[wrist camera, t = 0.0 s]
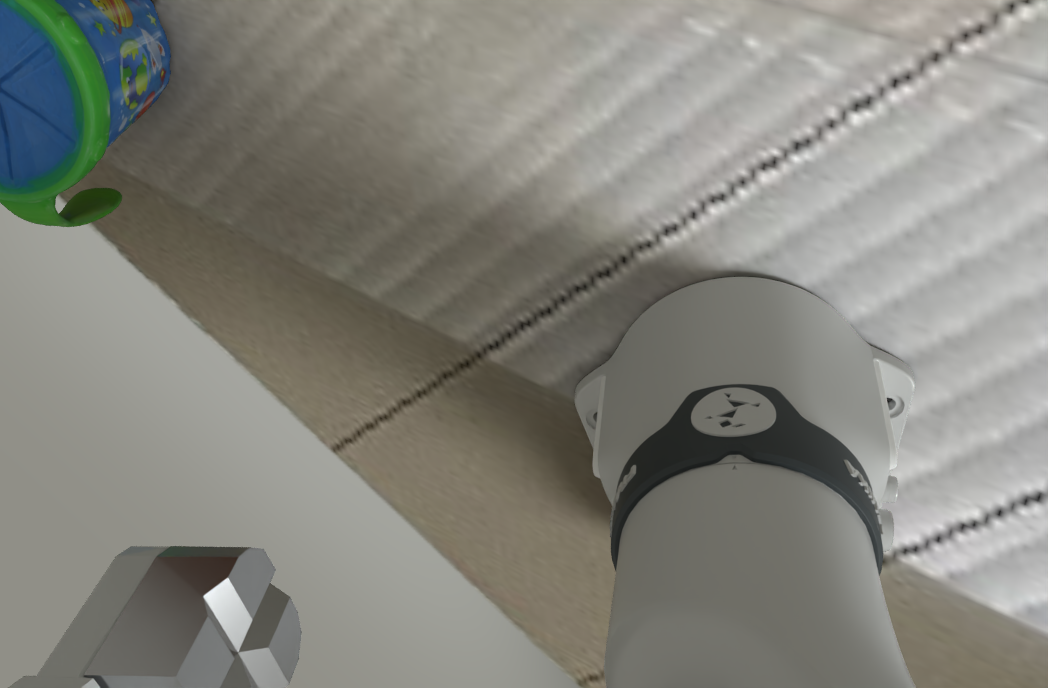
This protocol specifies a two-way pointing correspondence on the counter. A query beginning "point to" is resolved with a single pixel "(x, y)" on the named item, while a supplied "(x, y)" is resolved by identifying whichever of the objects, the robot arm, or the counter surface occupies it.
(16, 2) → the snack cup
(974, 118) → the counter surface
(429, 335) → the counter surface
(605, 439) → the robot arm
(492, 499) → the counter surface
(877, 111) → the counter surface
